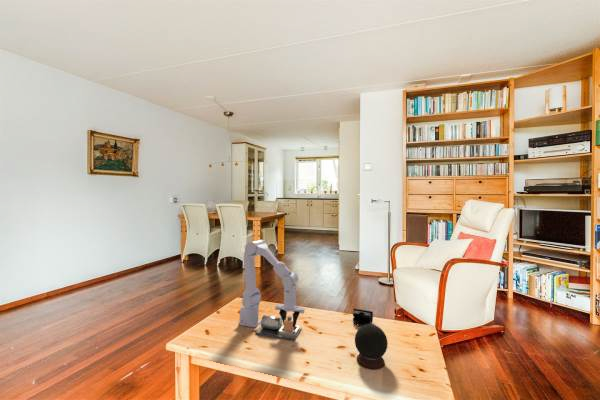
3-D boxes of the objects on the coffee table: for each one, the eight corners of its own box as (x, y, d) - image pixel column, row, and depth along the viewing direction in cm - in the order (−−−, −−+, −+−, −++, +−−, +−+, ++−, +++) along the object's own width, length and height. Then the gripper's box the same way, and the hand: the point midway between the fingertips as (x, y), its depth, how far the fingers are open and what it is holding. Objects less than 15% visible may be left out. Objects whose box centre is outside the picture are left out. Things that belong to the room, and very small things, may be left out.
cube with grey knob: (283, 330, 140) (283, 318, 140) (286, 326, 144) (286, 314, 144) (292, 332, 139) (292, 319, 139) (295, 327, 143) (295, 315, 143)
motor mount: (255, 334, 141) (255, 320, 141) (265, 323, 152) (265, 310, 152) (294, 340, 135) (294, 326, 135) (301, 329, 146) (301, 315, 146)
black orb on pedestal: (386, 355, 124) (387, 321, 123) (387, 374, 111) (388, 335, 111) (355, 350, 127) (356, 317, 127) (352, 367, 115) (353, 330, 114)
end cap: (373, 322, 157) (373, 309, 157) (370, 327, 150) (371, 314, 150) (354, 318, 161) (354, 306, 160) (351, 323, 154) (352, 311, 154)
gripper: (273, 299, 140) (272, 327, 140) (301, 302, 136) (301, 331, 136) (278, 294, 147) (277, 320, 147) (305, 297, 142) (305, 325, 143)
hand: (289, 325), depth 142 cm, fingers closed on cube with grey knob, 4 cm apart
